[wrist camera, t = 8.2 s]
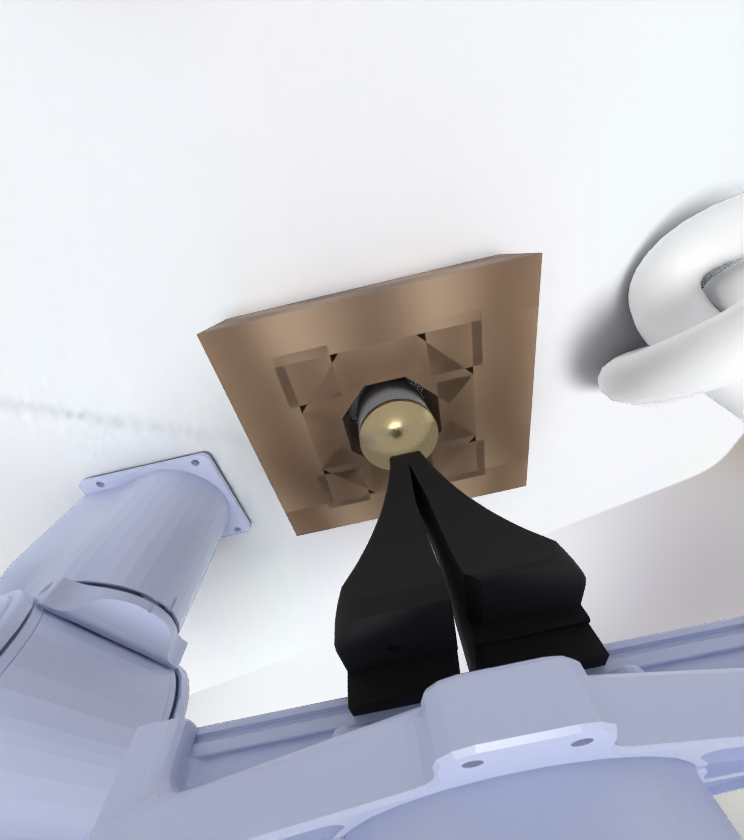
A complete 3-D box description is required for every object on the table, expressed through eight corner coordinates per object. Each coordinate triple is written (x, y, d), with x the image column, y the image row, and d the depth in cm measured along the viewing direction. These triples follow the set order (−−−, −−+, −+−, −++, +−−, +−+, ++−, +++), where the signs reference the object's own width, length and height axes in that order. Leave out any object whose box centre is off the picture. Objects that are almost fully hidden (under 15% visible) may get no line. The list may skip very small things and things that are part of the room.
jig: (303, 495, 24) (296, 536, 20) (226, 319, 17) (196, 334, 13) (498, 452, 23) (526, 485, 20) (499, 254, 17) (542, 252, 13)
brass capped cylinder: (362, 423, 21) (369, 477, 16) (348, 371, 19) (350, 414, 14) (416, 410, 21) (442, 460, 16) (408, 356, 19) (433, 394, 14)
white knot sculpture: (580, 428, 23) (702, 514, 15) (543, 283, 18) (705, 302, 10) (734, 353, 21) (967, 408, 13) (747, 164, 16) (1155, 68, 8)
